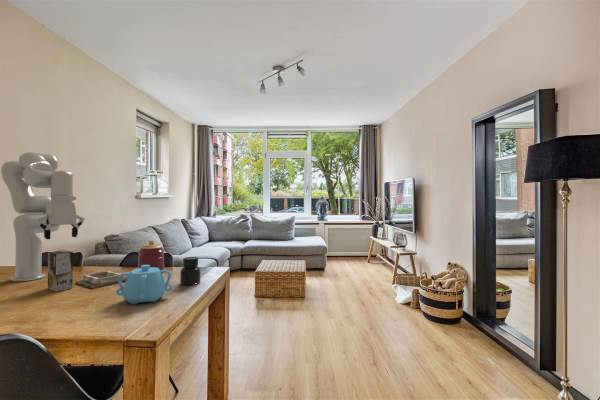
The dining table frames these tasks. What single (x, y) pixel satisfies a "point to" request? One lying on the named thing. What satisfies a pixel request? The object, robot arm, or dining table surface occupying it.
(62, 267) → the coffee box
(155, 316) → the dining table surface
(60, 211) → the robot arm
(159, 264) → the canister
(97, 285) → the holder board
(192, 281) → the ink bottle
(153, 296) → the decorative pot
